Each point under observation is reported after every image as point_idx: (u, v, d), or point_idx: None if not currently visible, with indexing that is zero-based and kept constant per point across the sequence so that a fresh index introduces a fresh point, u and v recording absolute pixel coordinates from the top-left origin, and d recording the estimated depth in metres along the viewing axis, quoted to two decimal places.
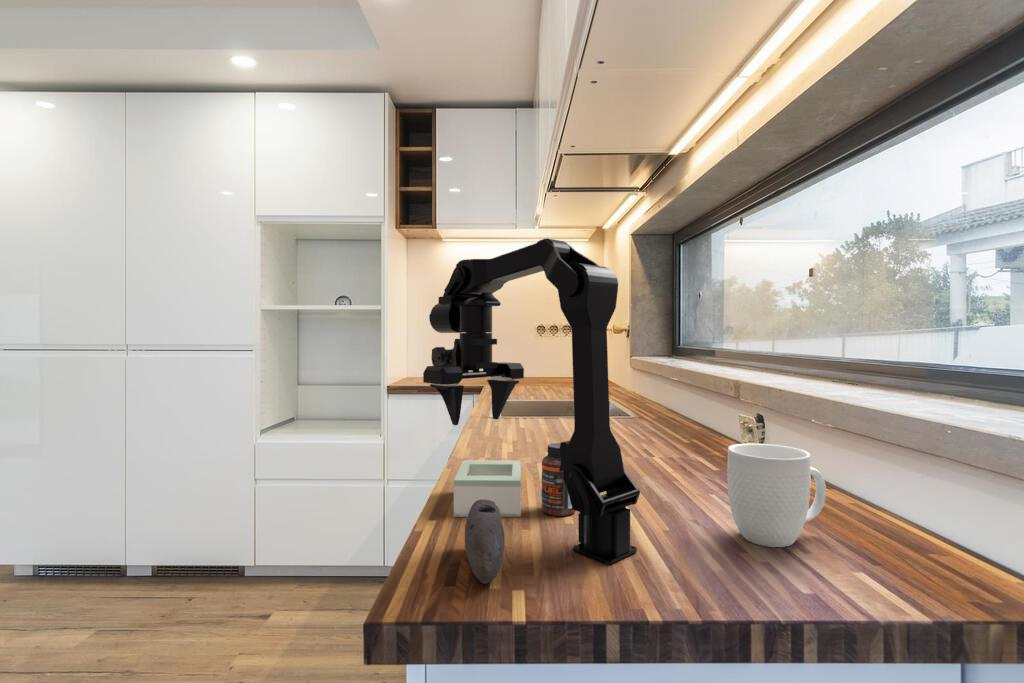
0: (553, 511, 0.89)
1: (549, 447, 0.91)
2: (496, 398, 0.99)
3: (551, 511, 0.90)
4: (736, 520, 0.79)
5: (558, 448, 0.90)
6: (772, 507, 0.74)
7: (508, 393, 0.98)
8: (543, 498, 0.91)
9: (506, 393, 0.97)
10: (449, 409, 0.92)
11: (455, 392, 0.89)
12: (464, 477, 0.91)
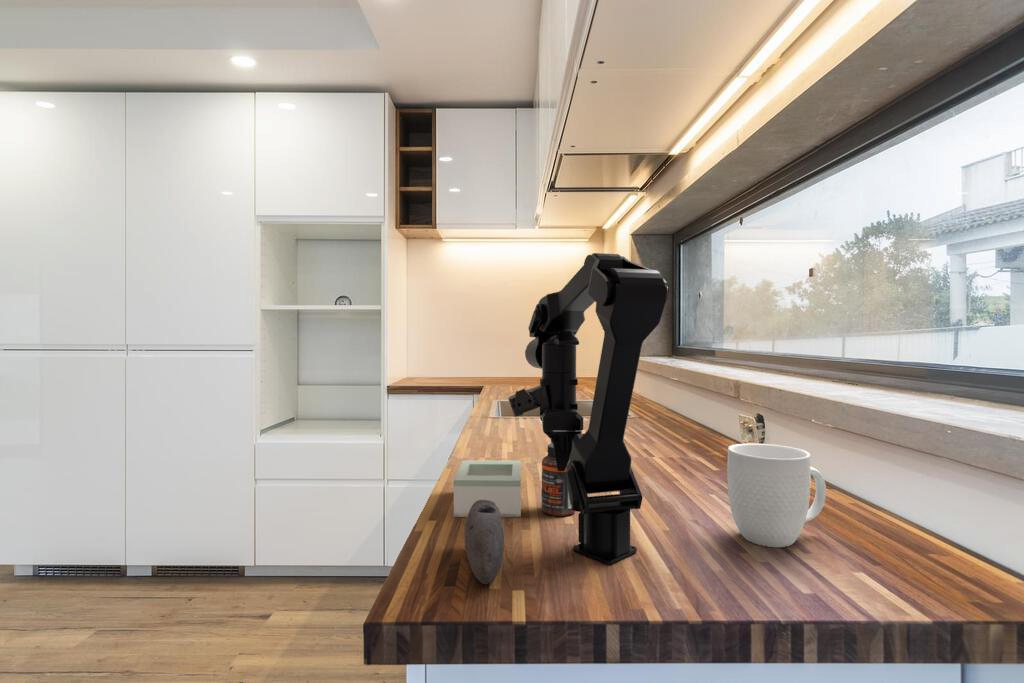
0: (553, 511, 0.89)
1: (549, 447, 0.91)
2: None
3: (551, 511, 0.90)
4: (736, 520, 0.79)
5: None
6: (772, 507, 0.74)
7: None
8: (543, 498, 0.91)
9: None
10: (559, 455, 0.86)
11: None
12: (464, 477, 0.91)
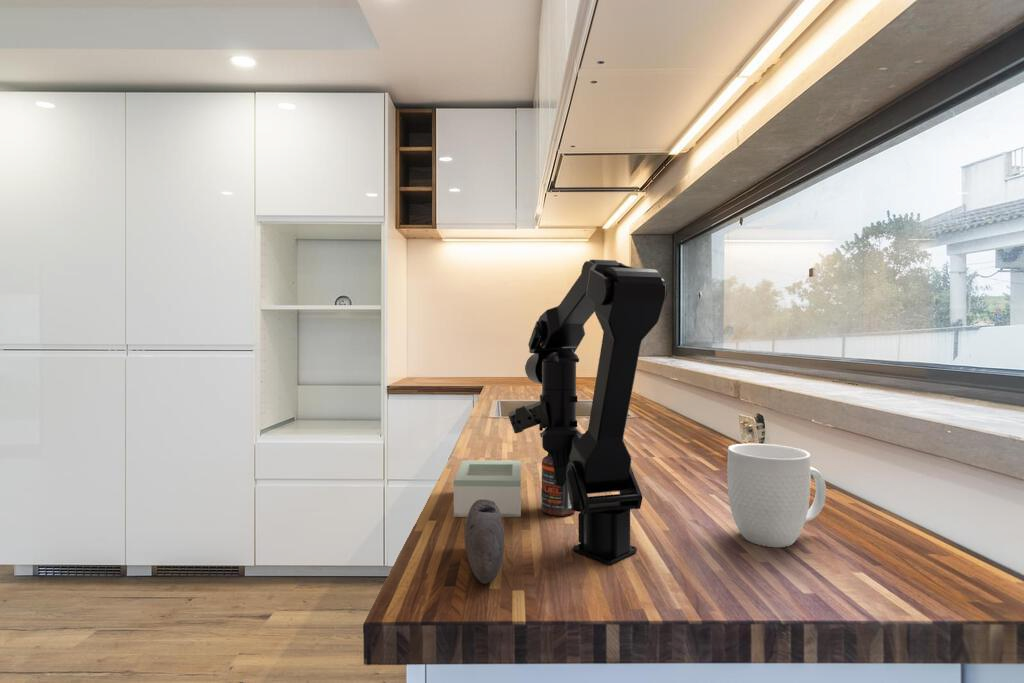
0: (553, 511, 0.89)
1: None
2: None
3: (551, 510, 0.90)
4: (736, 520, 0.79)
5: None
6: (772, 507, 0.74)
7: None
8: (543, 498, 0.91)
9: None
10: (558, 470, 0.88)
11: None
12: (464, 477, 0.91)
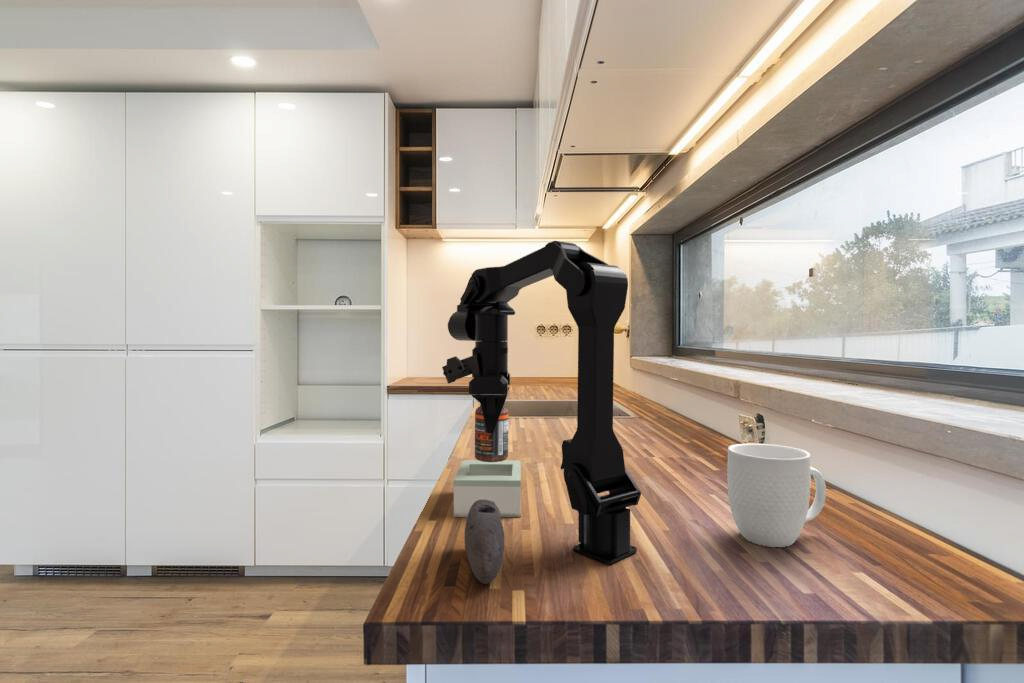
0: (484, 458, 0.94)
1: None
2: None
3: (482, 457, 0.94)
4: (736, 520, 0.79)
5: None
6: (772, 507, 0.74)
7: None
8: (475, 446, 0.95)
9: None
10: (488, 418, 0.92)
11: None
12: (464, 477, 0.91)
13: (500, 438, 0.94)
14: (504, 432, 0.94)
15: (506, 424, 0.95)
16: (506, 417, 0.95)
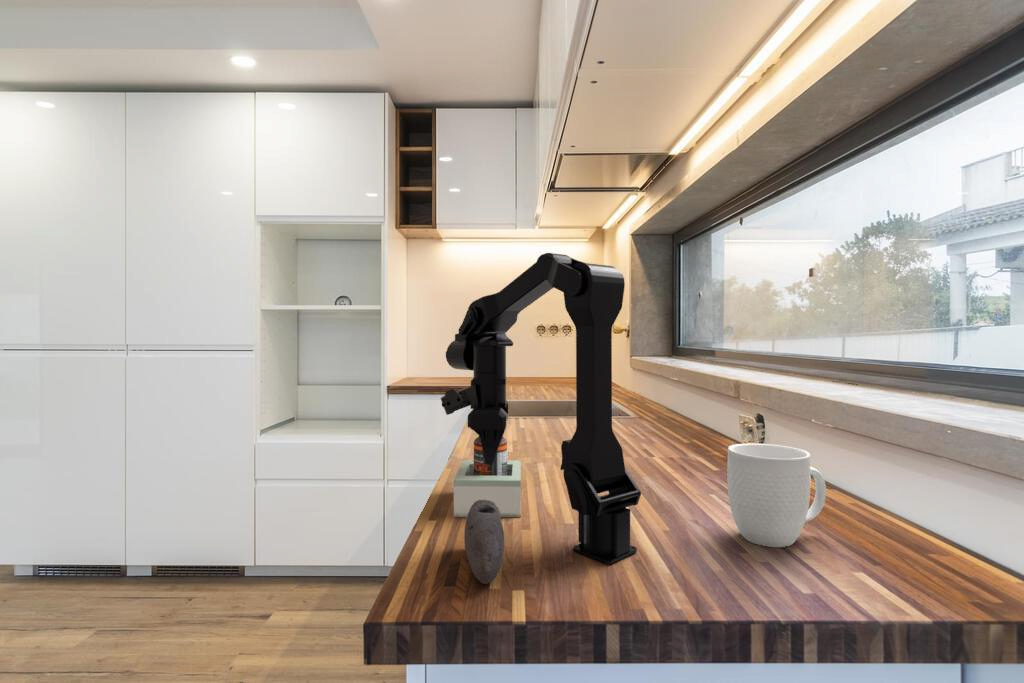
0: None
1: None
2: None
3: None
4: (736, 520, 0.79)
5: None
6: (772, 507, 0.74)
7: None
8: None
9: None
10: (486, 449, 0.92)
11: None
12: (464, 477, 0.91)
13: (499, 469, 0.94)
14: (502, 463, 0.94)
15: (505, 455, 0.95)
16: (505, 448, 0.95)
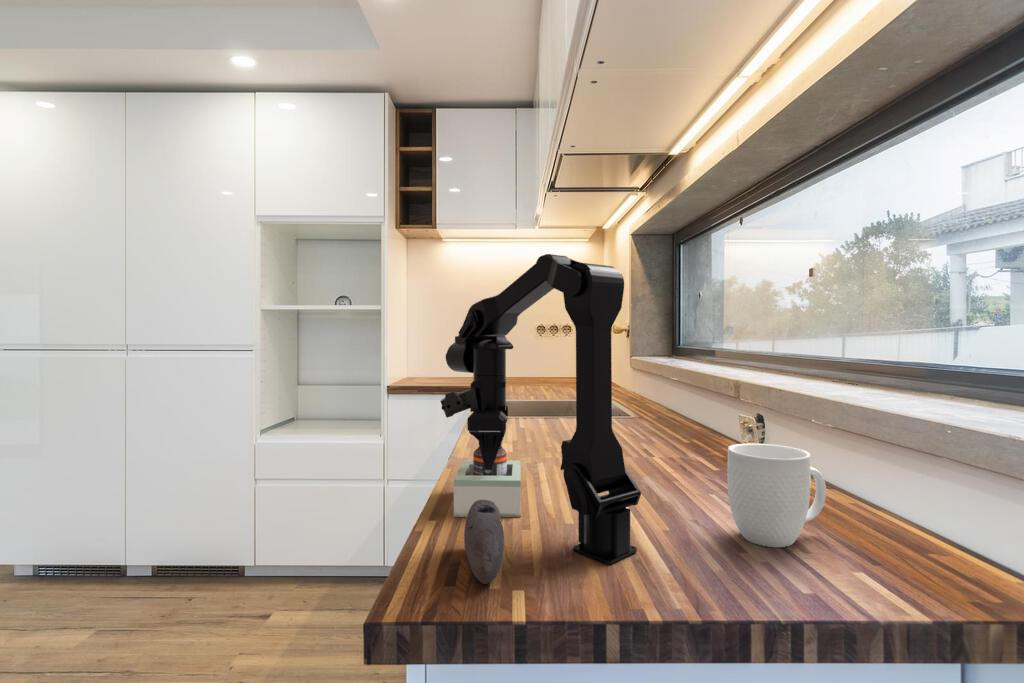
0: None
1: None
2: None
3: None
4: (736, 520, 0.79)
5: None
6: (772, 507, 0.74)
7: None
8: None
9: None
10: (486, 454, 0.91)
11: (503, 436, 0.89)
12: (464, 477, 0.91)
13: None
14: (502, 475, 0.94)
15: (504, 466, 0.95)
16: (504, 459, 0.95)
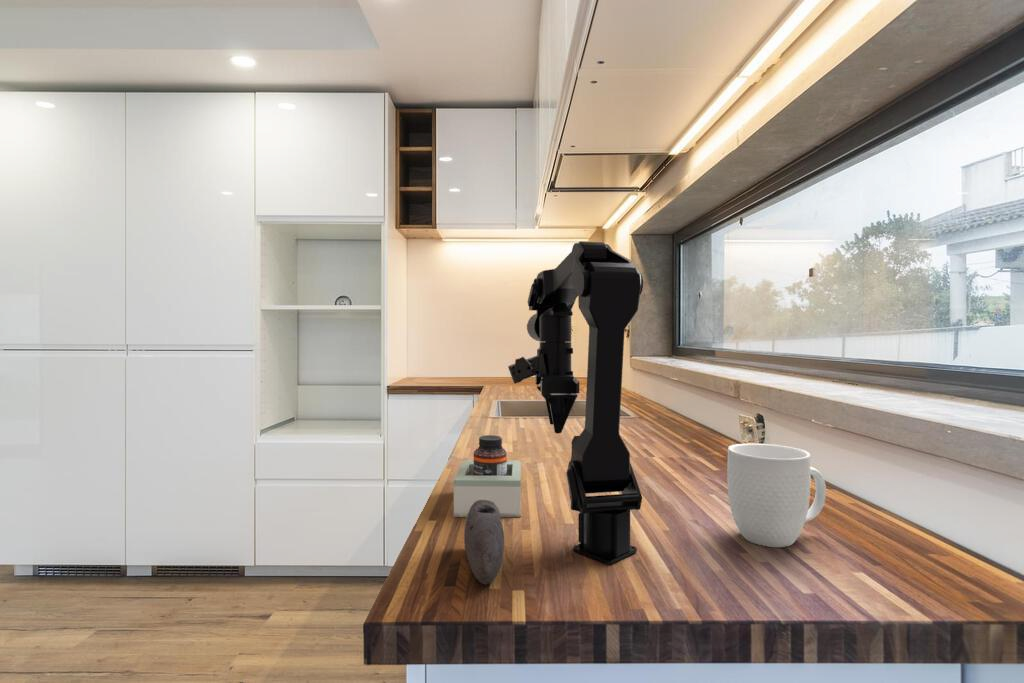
0: None
1: (480, 439, 0.95)
2: None
3: None
4: (736, 520, 0.79)
5: (488, 440, 0.94)
6: (772, 507, 0.74)
7: None
8: None
9: None
10: (556, 418, 0.93)
11: (574, 400, 0.92)
12: (464, 477, 0.91)
13: None
14: (502, 475, 0.94)
15: (504, 466, 0.95)
16: (504, 459, 0.95)
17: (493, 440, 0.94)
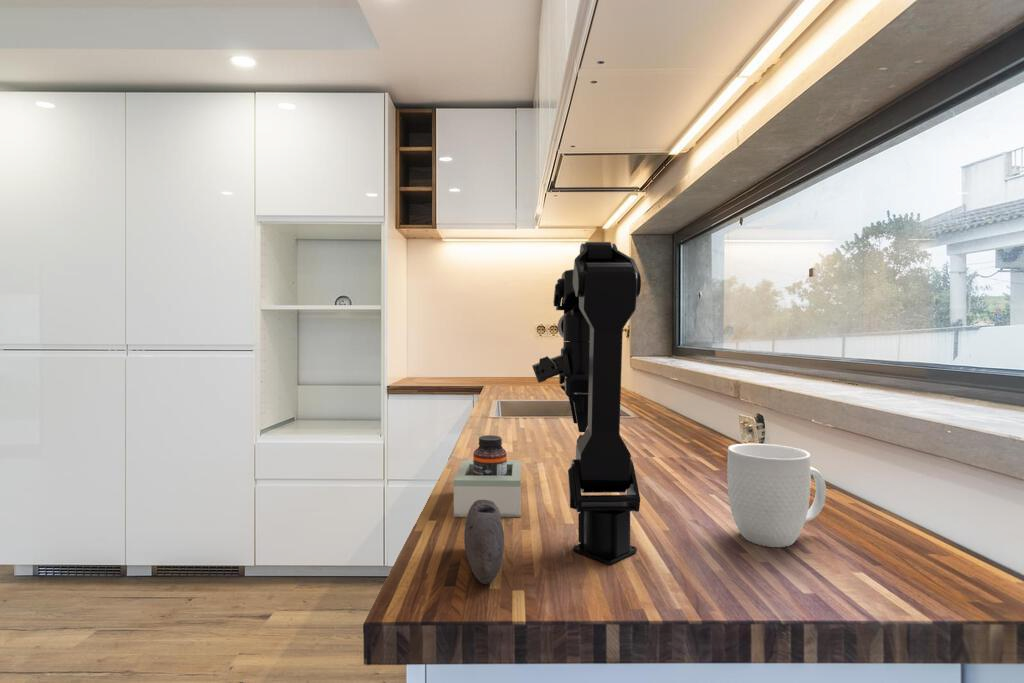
0: None
1: (480, 439, 0.95)
2: None
3: None
4: (736, 520, 0.79)
5: (487, 440, 0.94)
6: (772, 507, 0.74)
7: None
8: None
9: None
10: (580, 417, 0.93)
11: None
12: (464, 477, 0.91)
13: None
14: (502, 475, 0.94)
15: (504, 466, 0.95)
16: (504, 459, 0.95)
17: (493, 440, 0.94)
